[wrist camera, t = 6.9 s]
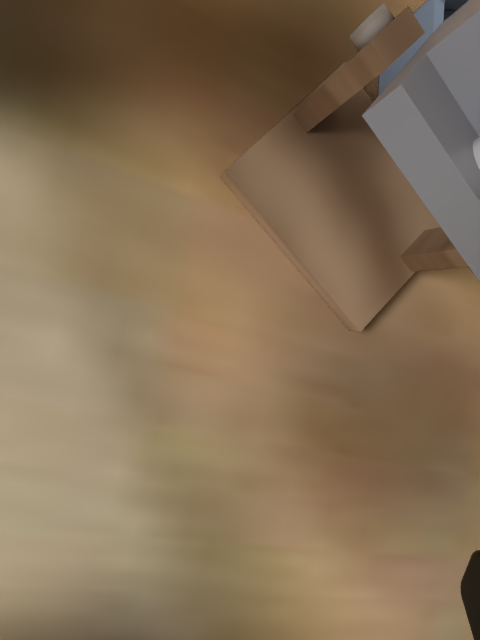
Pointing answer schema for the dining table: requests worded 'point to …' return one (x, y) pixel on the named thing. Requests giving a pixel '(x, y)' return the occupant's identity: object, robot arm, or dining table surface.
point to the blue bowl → (429, 16)
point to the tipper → (440, 127)
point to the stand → (344, 186)
